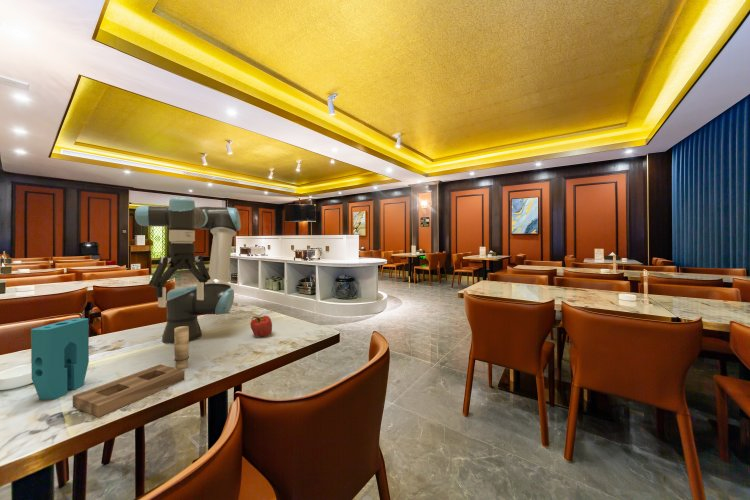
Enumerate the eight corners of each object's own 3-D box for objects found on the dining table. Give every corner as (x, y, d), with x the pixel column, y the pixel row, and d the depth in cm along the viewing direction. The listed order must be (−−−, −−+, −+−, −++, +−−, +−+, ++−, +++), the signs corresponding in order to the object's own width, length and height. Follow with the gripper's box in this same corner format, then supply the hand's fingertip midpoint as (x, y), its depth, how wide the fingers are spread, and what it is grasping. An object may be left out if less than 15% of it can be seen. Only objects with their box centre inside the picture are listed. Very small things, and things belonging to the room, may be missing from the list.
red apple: (257, 341, 131) (258, 319, 130) (243, 337, 136) (243, 315, 136) (277, 335, 140) (277, 314, 140) (263, 331, 145) (263, 311, 145)
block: (74, 381, 91) (74, 318, 91) (90, 382, 91) (90, 318, 91) (29, 402, 79) (28, 329, 79) (48, 403, 79) (47, 329, 79)
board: (72, 406, 78) (72, 395, 78) (160, 373, 98) (160, 364, 98) (98, 417, 73) (98, 405, 73) (184, 379, 94) (184, 370, 93)
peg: (171, 368, 102) (171, 328, 101) (183, 363, 106) (183, 325, 105) (179, 370, 100) (179, 330, 100) (191, 365, 104) (191, 326, 104)
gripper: (150, 242, 89) (150, 311, 89) (220, 243, 112) (220, 298, 113) (135, 242, 92) (135, 309, 92) (206, 242, 115) (206, 296, 115)
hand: (182, 303), depth 102 cm, fingers open, 13 cm apart
